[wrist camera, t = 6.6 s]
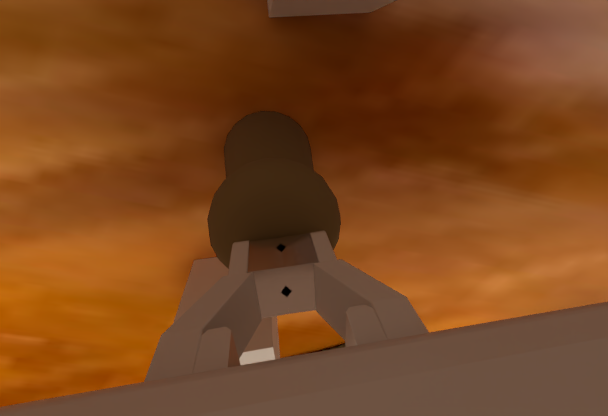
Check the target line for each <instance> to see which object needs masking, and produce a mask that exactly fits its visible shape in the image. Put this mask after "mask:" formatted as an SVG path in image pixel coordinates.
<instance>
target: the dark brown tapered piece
mask: <svg viewBox="0 0 608 416" xmlns="http://www.w3.org/2000/svg"><path fill="white" fill-rule="evenodd" d="M224 157H225V169H226V179H225V180H224V182H223V183H222V184H221V186H220V187H219V189H218V190H217V191H216V193H215V195H214V197H213V200H212V204H211V207H210V211H209V215H208V219H207V220H208V228H209V236H210V242H211V246H212V248H213V250H214V251H215V253H216V255H217V257H218V259H219V261H221V262H222V263H223V264H224V265H225V266H226V267H227V268H228V269H229V264H230V257H231V251H232V245H233V243H234V242H240V241H248V240H249V241H250V240H257V239H267V238H276V237H287V236H293V235H300V234H306V233H312V232H318V231H325V232H326V234H327V236H328V239H329V241H330V244H331V246H332V249H333V250H334V248H335V246H336V244H337V242H338V239H339V232H340V225H341V220H340V212H339V208H338V204H337V199H336V197H335V196H334V194H333V192H332V191H331V189H330V188H329V186H328V185H327V183H326V182H325V180H324V179H323V177H321V176H320V175H319V174H317V173H316V172H315V171H314V169H313V162H312V155H311V149H310V145H309V141H308V137H307V136H306V134H305V133H304V131H303V130H302V128H301V126H300V125H299V124H297V123H296V122H295V121H294V120H292V119H291V118H290V117H288V116H286V115H283V114H280V113H278V112H270V111H260V112H256V113H253V114H250V115H247V116H245V117H244V118H243V119H241V120H240V121H239V122H237V123H236V124H235V125H234V127H233V128H232V129H231V131H230V132H229V134H228V135H227V139H226V143H225V147H224Z"/></svg>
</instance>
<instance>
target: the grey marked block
mask: <svg viewBox="0 0 608 416" xmlns="http://www.w3.org/2000/svg"><path fill="white" fill-rule="evenodd" d="M394 1H396V0H267V2H268V12H269V17H290V16H310V15H330V14H350V13H371V12H373V11H375V10H377V9H379V8H381V7H383V6H386V5H388V4H390V3H392V2H394Z"/></svg>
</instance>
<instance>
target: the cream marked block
mask: <svg viewBox="0 0 608 416" xmlns="http://www.w3.org/2000/svg"><path fill="white" fill-rule="evenodd" d="M228 270H229V269H228V268H227V267H226V266H225V265H224V264H223V263H222V262H221V261H219V259H218V257H213V258H206V259H199V260H194V262H193V265H192V268H191V271H190V274H189V277H188V280H187V283H186V286H185V289H184V293H183V296H182V299H181V302H180V305H179V308H178V311H177V314H176V317H175V320H174V323H175V322H176V321H177V320H178V319H179V318H180V317H181V316H182V315H183V314H184V313H185V312H186V311H187V310H188V309H189V308H190V307H191V306H192V305H193V304H194V303H195V302H197V301H198V300H199V299H200V298H201V297H202V296H203V295H204V294H205V293H206V292H207V291H208V290H209V289H210V288H211V287H212V286H213V285H214V284H215V283H216V282H217V281H218V280H219V279H220V278H222V277H223V276H227V275H228ZM174 323H173V324H174ZM274 359H280V352H279V338H278V325H277V316H273V317H268V318H262V321H261V322H260V324H259V326H258V328H257V329H256V331H255V333H254V334H253V336H252V338H251V340H250V341H249V343H248V345H247V346H246V348H245V350H244V352H243V353H242V355H241V357H240V359H239V361H240V364H241V365H245V364H251V363H257V362H262V361H268V360H274Z"/></svg>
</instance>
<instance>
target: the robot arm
mask: <svg viewBox="0 0 608 416" xmlns="http://www.w3.org/2000/svg"><path fill="white" fill-rule="evenodd" d="M312 310H316V311H317V312H318V313H319V314H320V315H321V316H322V317H323V318H324V320H325V321H326V322H327V323H328V324H329V325H330V326H331V327H332V328H333V329H334V330H335V331H336V332H337V333H338V334H339V335H340V336H341V337H342V338H343V339H344V340H345V347H343V348H337V349H331V350H326V351H320V352H314V353H308V354H303V355H297V356H291V357H285V358H280V359H274V360H268V361H262V362H257V363H251V364H245V365H241V364H240V361H239V359H240V357H241V355H242V353H243V352H244V350H245V348H246V346H247V345H248V343H249V341H250V340H251V338H252V336H253V334H254V333H255V331H256V329H257V328H258V326H259V324H260V322H261V321H262V318H268V317H273V316H278V315H284V314H289V313H297V312H305V311H312ZM0 416H608V302H603V303H597V304H591V305H585V306H580V307H574V308H568V309H562V310H556V311H551V312H545V313H539V314H533V315H528V316H522V317H516V318H510V319H505V320H499V321H493V322H487V323H482V324H476V325H470V326H465V327H459V328H453V329H447V330H442V331H436V332H430V333H429V332H428V330H427V329H426V327H425V326H424V324H423V323H422V321H421V319H420V318H419V316H418V315H417V313H416V311H415V310H414V308H413V307H412V305H411V304H410V302H409V300H408V299H407V297H405V296H404V295H402V294H400V293H399V292H397V291H395V290H393V289H392V288H390V287H388V286H386V285H385V284H383V283H381V282H380V281H378V280H376V279H374V278H373V277H371V276H369V275H367V274H366V273H364V272H362V271H361V270H359V269H357V268H355V267H354V266H352V265H350V264H349V263H347V262H345V261H343V260H337V259H336V256H335V254H334V251H333V249H332V246H331V244H330V241H329V239H328V236H327V234H326V232H325V231H318V232H312V233H306V234H300V235H293V236H287V237H276V238H267V239H257V240H250V241H249V240H248V241H240V242H234V243H233V245H232V251H231V257H230V264H229V270H228V275H227V276H223V277H222V278H220V279H219V280H218V281H217V282H216V283H215V284H214V285H213V286H212V287H211V288H210V289H209V290H208V291H207V292H206V293H205V294H204V295H203V296H202V297H201V298H200V299H199V300H198V301H197V302H195V303H194V304H193V305H192V306H191V307H190V308H189V309H188V310H187V311H186V312H185V313H184V314H183V315H182V316H181V317H180V318H179V319H178V320H177V321H176V322H175V323H174V324H173V325H172V326H171V327H169V328H168V329H167V330H166V331H165V332H164V333H163V334H162V335H161V338H160V340H159V343H158V346H157V348H156V351H155V354H154V357H153V359H152V362H151V365H150V367H149V370H148V373H147V376H146V378H145V381H144V382H142V383H136V384H130V385H124V386H119V387H113V388H107V389H101V390H95V391H90V392H84V393H78V394H72V395H67V396H61V397H55V398H49V399H44V400H38V401H32V402H26V403H21V404H15V405H9V406H3V407H0Z"/></svg>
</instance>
